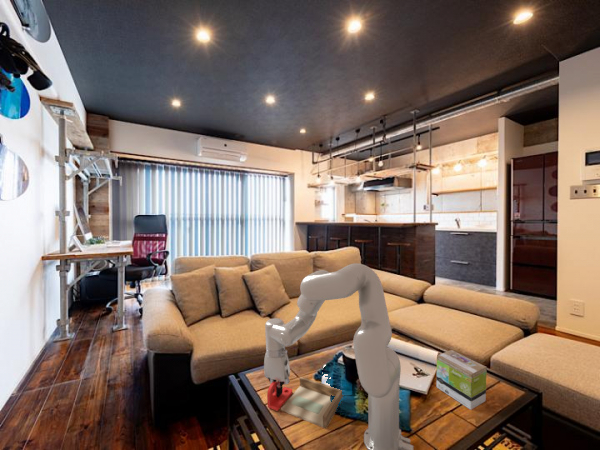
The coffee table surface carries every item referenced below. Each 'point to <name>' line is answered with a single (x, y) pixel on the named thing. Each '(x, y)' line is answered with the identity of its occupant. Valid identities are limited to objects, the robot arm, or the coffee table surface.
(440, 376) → the tea box
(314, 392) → the tray
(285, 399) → the bracket
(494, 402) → the coffee table surface
